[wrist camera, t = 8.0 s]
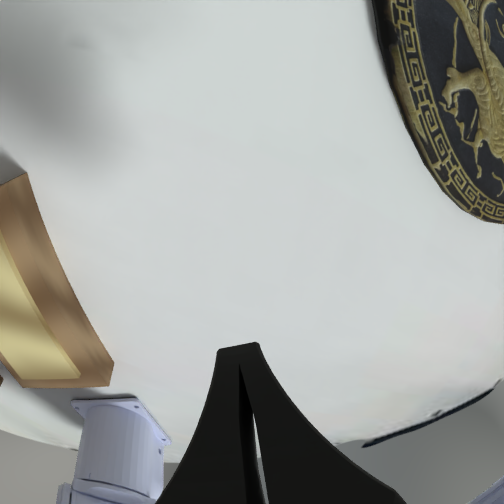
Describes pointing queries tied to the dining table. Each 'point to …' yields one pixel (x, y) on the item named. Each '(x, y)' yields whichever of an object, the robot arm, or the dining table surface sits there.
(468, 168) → the decorative plate
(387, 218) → the dining table surface
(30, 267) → the frame
